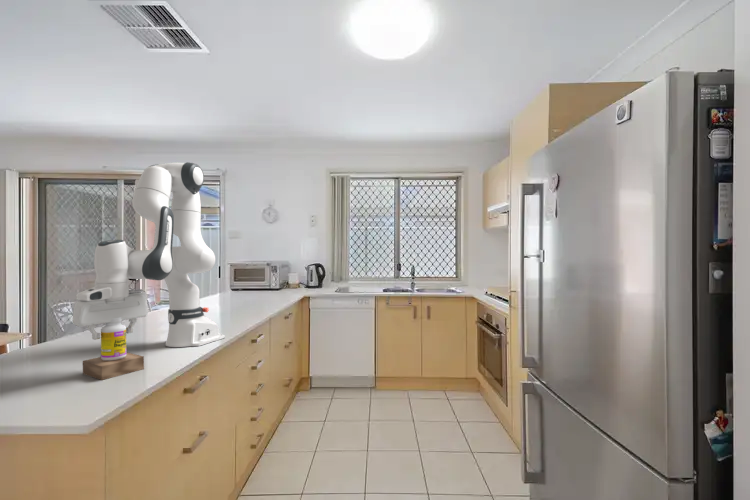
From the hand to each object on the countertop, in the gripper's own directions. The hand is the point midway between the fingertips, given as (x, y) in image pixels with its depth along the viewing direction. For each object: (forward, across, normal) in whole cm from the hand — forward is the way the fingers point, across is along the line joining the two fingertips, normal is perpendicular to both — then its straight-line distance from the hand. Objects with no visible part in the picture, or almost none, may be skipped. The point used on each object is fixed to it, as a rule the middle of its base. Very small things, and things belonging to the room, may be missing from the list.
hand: (113, 335), depth 123 cm
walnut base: (+11, 0, 0) cm, 11 cm away
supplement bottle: (+7, 0, 0) cm, 7 cm away
